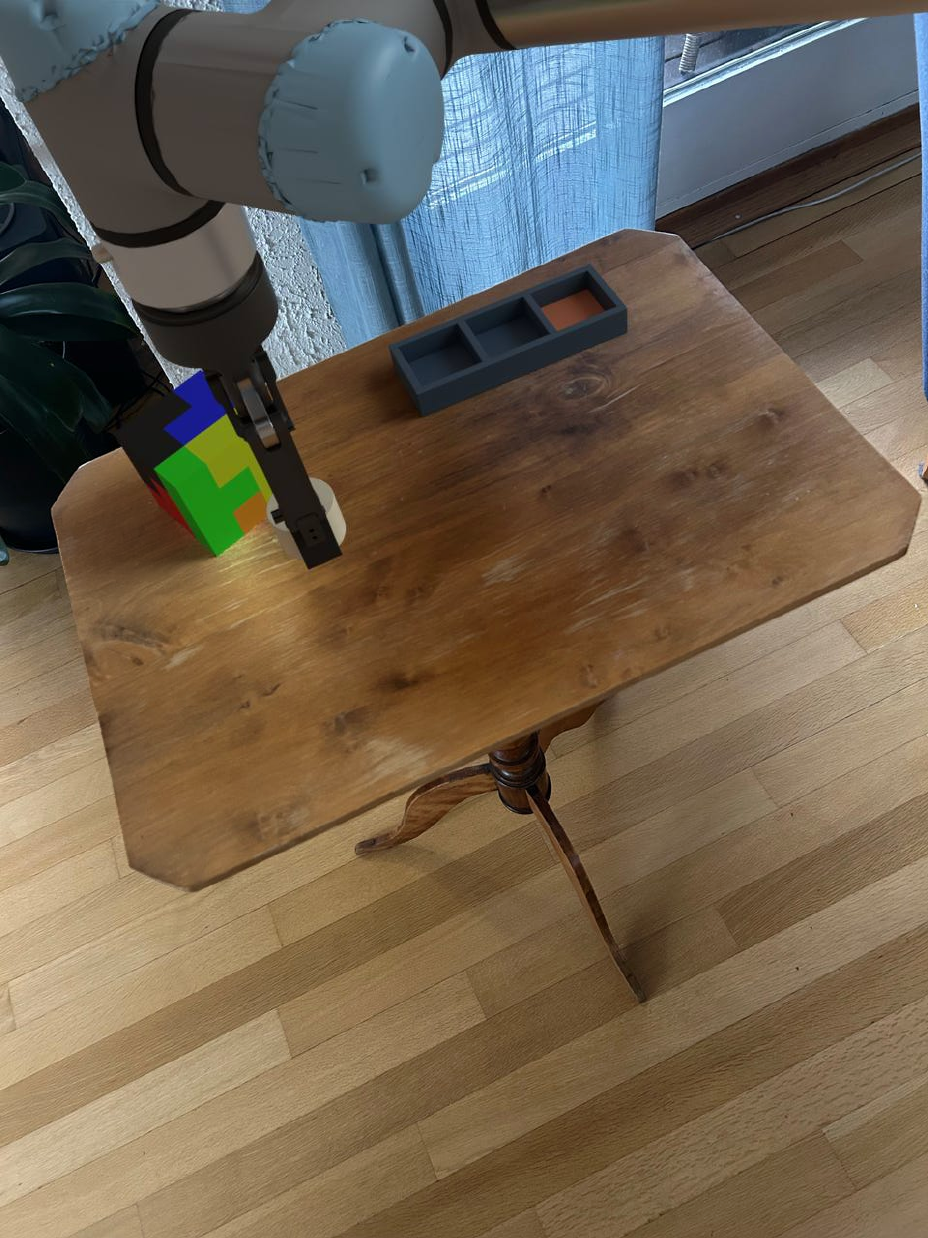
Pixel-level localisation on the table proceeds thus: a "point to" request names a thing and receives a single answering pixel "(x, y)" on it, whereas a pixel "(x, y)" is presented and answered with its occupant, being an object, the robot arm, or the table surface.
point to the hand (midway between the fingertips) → (311, 531)
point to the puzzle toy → (197, 465)
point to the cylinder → (331, 513)
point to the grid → (508, 339)
